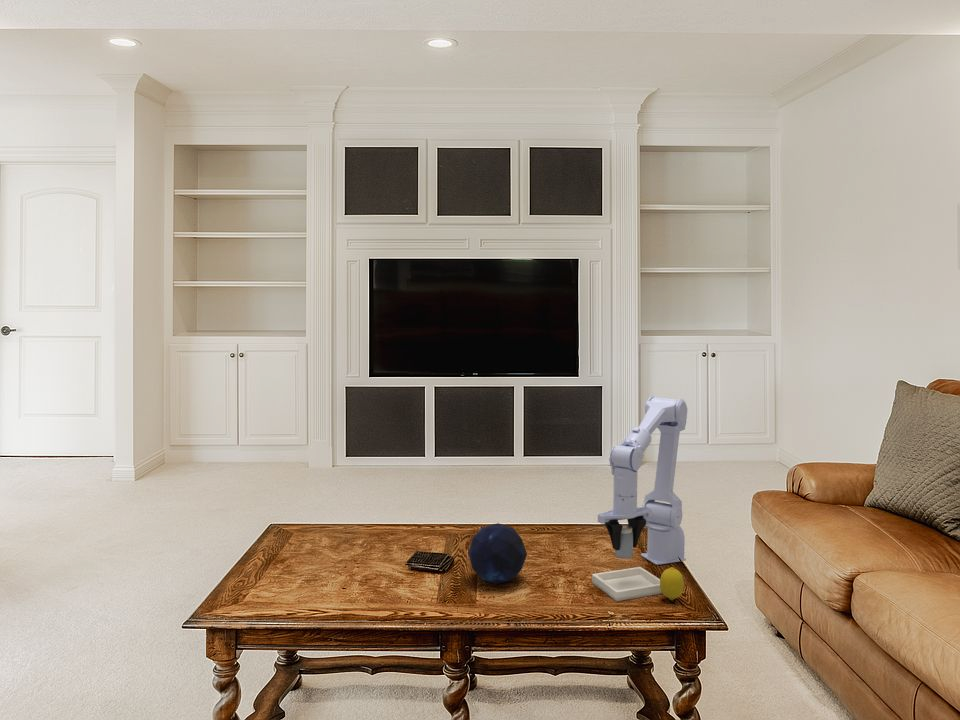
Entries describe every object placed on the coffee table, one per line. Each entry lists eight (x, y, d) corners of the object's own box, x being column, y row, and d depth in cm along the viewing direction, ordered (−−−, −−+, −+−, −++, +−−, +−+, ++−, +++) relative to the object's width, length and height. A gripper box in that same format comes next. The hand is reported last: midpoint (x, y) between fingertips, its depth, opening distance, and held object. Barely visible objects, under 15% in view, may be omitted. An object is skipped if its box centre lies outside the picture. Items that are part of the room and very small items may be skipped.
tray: (640, 575, 191) (640, 566, 191) (667, 592, 180) (667, 583, 180) (591, 582, 187) (591, 574, 186) (616, 601, 175) (616, 592, 175)
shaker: (627, 551, 188) (627, 524, 187) (636, 557, 183) (636, 529, 183) (611, 553, 186) (611, 526, 186) (620, 559, 182) (620, 531, 181)
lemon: (679, 607, 172) (680, 573, 171) (656, 601, 175) (656, 568, 174) (686, 598, 177) (687, 565, 176) (663, 593, 180) (664, 561, 179)
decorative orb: (473, 576, 177) (507, 522, 180) (448, 556, 190) (480, 506, 193) (515, 603, 183) (547, 550, 185) (488, 581, 196) (519, 532, 199)
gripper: (640, 486, 190) (639, 538, 191) (591, 493, 184) (590, 546, 185) (657, 493, 183) (656, 547, 184) (606, 500, 178) (606, 555, 179)
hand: (624, 547), depth 184 cm, fingers closed on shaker, 4 cm apart
